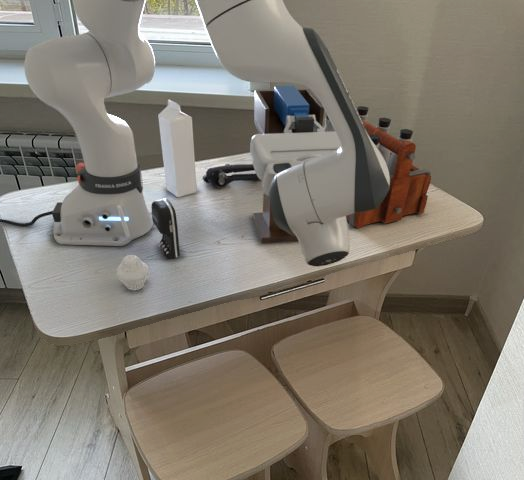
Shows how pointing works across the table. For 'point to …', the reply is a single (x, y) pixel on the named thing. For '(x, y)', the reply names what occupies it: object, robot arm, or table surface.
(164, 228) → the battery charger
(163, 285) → the table surface
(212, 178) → the can opener
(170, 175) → the milk
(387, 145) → the milk bottle holder
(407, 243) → the table surface
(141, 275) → the muffin
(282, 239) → the wooden pedestal stand
